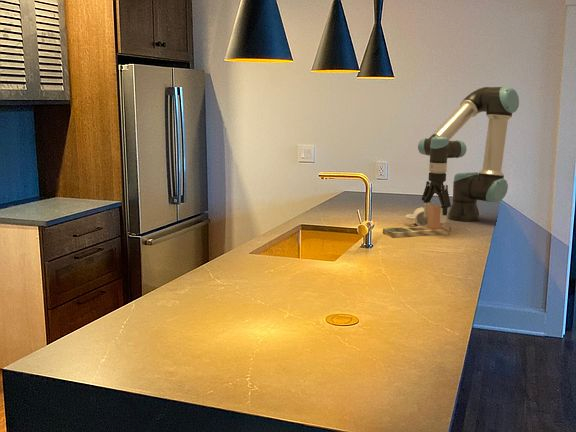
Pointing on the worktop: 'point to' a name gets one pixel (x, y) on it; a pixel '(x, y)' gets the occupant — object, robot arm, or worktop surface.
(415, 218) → the mug
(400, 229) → the compartment tray
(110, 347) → the worktop surface
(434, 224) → the peg block
